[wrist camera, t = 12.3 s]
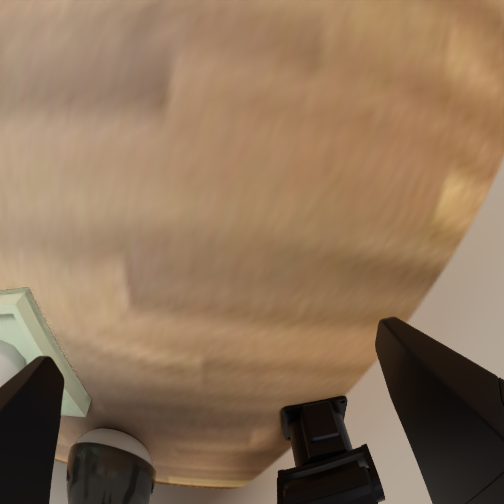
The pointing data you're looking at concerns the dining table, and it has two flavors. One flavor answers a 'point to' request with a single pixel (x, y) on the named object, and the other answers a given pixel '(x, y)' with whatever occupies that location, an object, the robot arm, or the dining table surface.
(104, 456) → the dark grey egg shape
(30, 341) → the tray
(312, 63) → the dining table surface
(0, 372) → the salt shaker
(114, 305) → the dining table surface
